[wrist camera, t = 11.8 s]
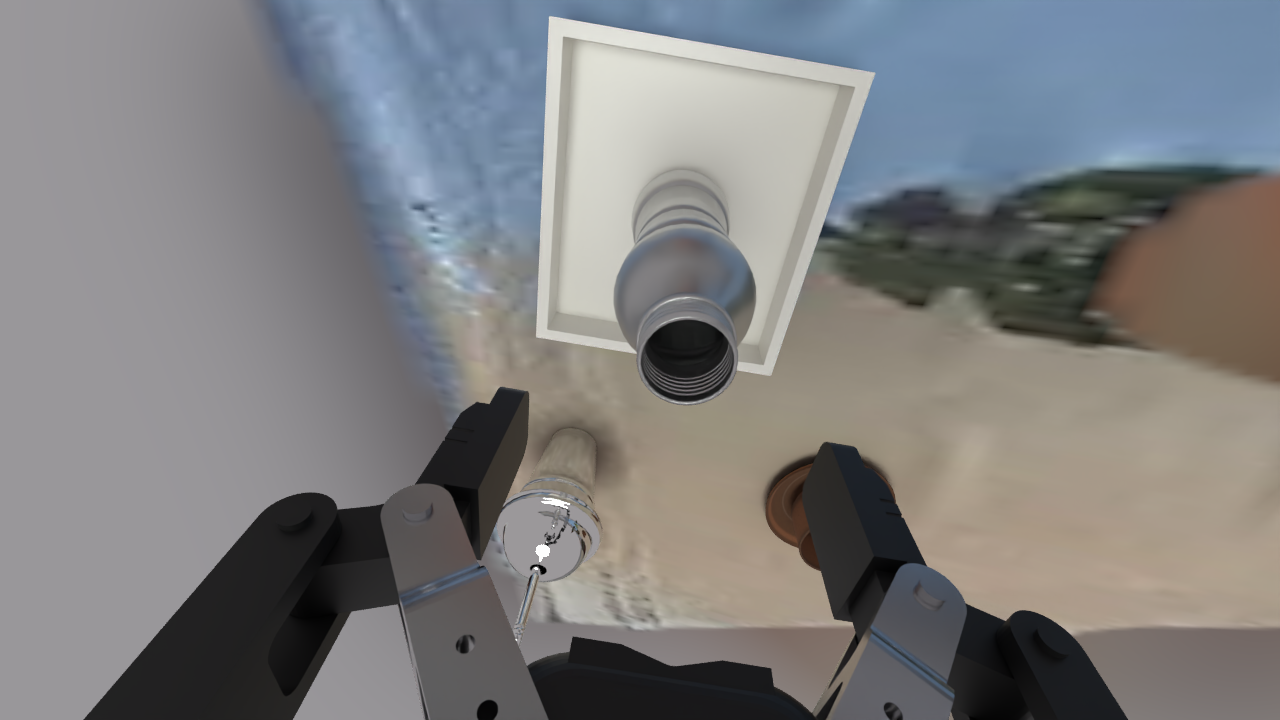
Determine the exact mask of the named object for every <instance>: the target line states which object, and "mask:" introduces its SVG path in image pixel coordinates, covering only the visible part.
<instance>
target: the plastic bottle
mask: <svg viewBox="0 0 1280 720" xmlns="http://www.w3.org/2000/svg"><path fill="white" fill-rule="evenodd" d="M631 226H632V233H633V239H634V243H635V245H634V247H633V248H632V249H631V251H630V252H629V253H628V255H627V256H626V257H625V260H624V262H623V264H622V266H621V268H620V270H619V273H618V275H617V278H616V282H615V286H614V296H613V304H614V310H615V315H616V318H617V321H618V323H619V326H620V328H621V331H622V333H623V335H624V337H625V339H626V340H627V342H628V343H629V345H630V346H631V347H632V348H633V349H634V350H635V351H636V352H637V360H636V361H637V367H638V372H639V374H640V377H641V379H642V381H643V383H644V384H645V386H646V387H647V388H648V389H649V390H650V391H651V392H652V393H653V394H654V395H656V396H657V397H659V398H660V399H662V400H665V401H667V402H669V403H673V404H677V405H696V404H700V403H704V402H707V401H709V400H711V399H714V398H715V397H717V396H718V395H720V394H721V393H722V392H723V391H724V390H725V389H726V388H727V387H728V386H729V385H730V383H731V382H732V380H733V378H734V376H735V373H736V370H737V365H738V349H737V347H738V346H739V345H740V343H741V342H742V340H743V339H744V337H745V336H746V334H747V332H748V329H749V327H750V324H751V322H752V319H753V315H754V311H755V306H756V285H755V280H754V276H753V273H752V271H751V269H750V266H749V264H748V262H747V260H746V259H745V257H744V255H743V254H742V253H741V251H740V250H739V249H738V247H737V246H736V245H735V244H734V243H733V242H732V241H731V240H730V239H729V238H728V237H729V230H730V212H729V208H728V203H727V201H726V199H725V197H724V194H723V193H722V191H721V190H720V189H719V187H718V186H717V185H716V184H715V183H714V182H713V181H712V180H710V179H709V178H708V177H706V176H704V175H702V174H700V173H697V172H694V171H690V170H673V171H669V172H667V173H664V174H661V175H660V176H658V177H656V178H655V179H653V180H652V181H651V182H650V183H649V184H647V185H646V186H645V187H644V189H643V190H642V192H641V193H640V194H639V196H638V198H637V200H636V202H635V205H634V208H633V212H632V222H631Z"/></svg>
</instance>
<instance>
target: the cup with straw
mask: <svg viewBox="0 0 1280 720" xmlns="http://www.w3.org/2000/svg"><path fill="white" fill-rule="evenodd" d="M596 451H597V446H596V442H595V440H594V439H593V438H592V436H591V435H589V434H588V433H587V432H585V431H583V430H580V429H576V428H565V429H561V430H559V431H557V432H556V433H555V434H554V435H553V436H552V439H551V441H550V443H549V444H548V446H547V447H546V449H545V451H544V453H543V455H542V457H541V458H540V460H539V462H538V464H537V466H536V468H535V470H534V471H533V473H532V475H531V477H530V479H529V481H528V482H527V483H526V484H525V486H524V487H523V488H522V490H521V491H520V492H519V493H517V494H514V495H513V496H511V497H510V498H508V499H507V500H506V501H505V503H504V505H503V508H502V510H501V513H500V515H499V517H498V520H497V531H498V535H499V537H500V539H501V541H502V543H503V545H504V551H505V555H506V557H507V559H508V561H509V563H510V564H511V566H512V567H513V568H514V569H515V570H516V571H517V572H518V573H520V574H521V575H523V576H524V577H526V578H528V579H529V581H528V584H527V587H526V591H525V594H524V597H523V601H522V604H521V607H520V610H519V614H518V617H517V620H516V624H515V626H514V630H513V633H514V636H515V638H516V641H517V643H518V646H519V647H520V643H521V640H522V637H523V633H524V630H525V627H526V624H527V620H528V617H529V613H530V610H531V606H532V602H533V599H534V595H535V592H536V588H537V585H538V582H553V581H558V580H561V579H563V578H565V577H567V576H569V575H571V574H572V573H573V572H574V571H575V570H576V569H577V568H578V567H579V566H580V565H581V564H582V563H583V562H585V561H587V560H589V559H590V558H591V557H592V556H593V555H594V554H595V553H596V551H597V550H598V547H599V544H600V543H601V541H602V537H603V527H602V523H601V520H600V518H599V517H598V515H597V513H596V512H595V503H594V487H595V471H596Z"/></svg>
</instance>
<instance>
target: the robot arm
mask: <svg viewBox="0 0 1280 720" xmlns="http://www.w3.org/2000/svg"><path fill="white" fill-rule="evenodd" d="M528 417H529V392H528V391H523V390H517V389H511V388H505V387H500V388H499V389H498V390H497V392H496V394H495V396H494V397H493V399H492V401H491V402H490V404H485V403H479V402H476V403H475V404H473V405H472V406H470V407H469V408H467V409H466V410H465V411H463V412H462V413H461V414H460V415H459V417H458V419H457V420H456V422H455V423H454V425H453V426H452V429H450V431H449V433H448V434H447V436H446V437H445V441H443V442H442V443H441V445H440V447H439V449H438V450H437V451H436V453H435V454H434V456H433V458H432V459H431V461H430V462H429V464H428V465H427V467H426V468H425V470H424V472H423V473H422V475H421V476H420V478H419V479H418V481H417V482H416V484H415V485H412V486H408V487H406V488H403V489H401V490H399V491H398V492H396V493H395V494H393V495H392V496H391V497H390V498H389V499H388V500H387V501H386V502H385V504H381V505H377V506H370V507H360V508H350V509H340V510H337V506H336V504H335V502H334V501H333V500H332V499H331V498H330V497H328V496H327V495H324V494H320V493H301V494H296V495H292V496H289V497H286V498H284V499H281V500H279V501H277V502H276V503H274V504H272V505H271V506H269V507H268V508H267V509H265V510H264V511H263V512H262V513H261V514H260V515H259V516H258V518H257V519H256V520H255V521H254V522H253V523H252V524H251V526H250V527H249V528H248V529H247V530H246V531H245V533H244V534H243V535H242V536H241V537H240V538H239V539H238V541H237V542H236V543H235V544H234V545H233V546H232V548H231V549H230V550H229V551H228V552H227V554H226V555H225V556H224V557H223V558H222V559H221V560H220V562H219V563H218V564H217V565H216V566H215V568H214V569H213V570H212V571H211V572H210V573H209V574H208V576H207V577H206V578H205V579H204V580H203V581H202V583H201V584H200V585H199V586H198V587H197V588H196V590H195V591H194V592H193V593H192V594H191V595H190V596H189V598H188V599H187V600H186V601H185V602H184V603H183V605H182V606H181V607H180V608H179V609H178V611H177V612H176V613H175V614H174V615H173V616H172V617H171V619H170V620H169V621H168V622H167V623H166V624H165V626H164V627H163V628H162V629H161V630H160V631H159V633H158V634H157V635H156V636H155V637H154V638H153V640H152V641H151V642H150V643H149V644H148V645H147V647H146V648H145V649H144V650H143V651H142V652H141V653H140V655H139V656H138V657H137V658H136V659H135V660H134V662H133V663H132V664H131V665H130V666H129V667H128V669H127V670H126V671H125V672H124V673H123V674H122V676H121V677H120V678H119V679H118V680H117V681H116V683H115V684H114V685H113V686H112V687H111V688H110V690H109V691H108V692H107V693H106V694H105V695H104V697H103V698H102V699H101V700H100V701H99V702H98V704H97V705H96V706H95V707H94V708H93V709H92V711H91V712H90V713H89V714H88V715H87V716H86V717H85V719H84V720H293V718H294V716H295V715H296V713H297V711H298V709H299V707H300V705H301V704H302V702H303V700H304V698H305V696H306V694H307V692H308V691H309V689H310V687H311V685H312V683H313V681H314V680H315V678H316V676H317V674H318V672H319V670H320V668H321V666H322V665H323V663H324V661H325V659H326V657H327V655H328V654H329V652H330V650H331V648H332V646H333V644H334V643H335V641H336V639H337V637H338V635H339V633H340V631H341V630H342V628H343V626H344V624H345V622H346V620H347V618H348V617H349V615H350V613H351V611H357V610H364V609H370V608H376V607H383V606H389V605H396V604H398V608H399V613H400V617H401V621H402V625H403V630H404V634H405V638H406V642H407V647H408V651H409V655H410V659H411V664H412V668H413V672H414V677H415V681H416V686H417V690H418V695H419V700H420V704H421V709H422V713H423V718H424V720H949V716H950V712H951V713H952V716H953V718H954V720H1128V719H1127V717H1126V716H1125V714H1124V712H1123V711H1122V709H1121V708H1120V706H1119V705H1118V703H1117V702H1116V700H1115V698H1114V697H1113V695H1112V694H1111V692H1110V690H1109V689H1108V687H1107V686H1106V684H1105V683H1104V681H1103V679H1102V678H1101V676H1100V675H1099V673H1098V672H1097V670H1096V668H1095V667H1094V665H1093V664H1092V662H1091V661H1090V659H1089V657H1088V656H1087V654H1086V653H1085V651H1084V650H1083V648H1082V647H1081V646H1080V644H1079V643H1078V642H1077V641H1076V640H1075V639H1074V638H1073V637H1072V636H1071V635H1070V634H1069V633H1068V632H1067V631H1066V630H1065V629H1063V628H1062V627H1061V626H1059V625H1058V624H1057V623H1055V622H1054V621H1052V620H1050V619H1049V618H1047V617H1045V616H1043V615H1040V614H1038V613H1035V612H1032V611H1026V610H1021V611H1017V612H1015V613H1013V614H1012V615H1011V616H1010V617H1009V618H1008V619H1007V620H1006V621H1004V620H1002V619H1000V618H997V617H995V616H993V615H990V614H988V613H986V612H983V611H981V610H979V609H976V608H974V607H972V606H970V605H968V604H966V603H965V601H964V599H963V597H962V595H961V594H960V592H959V591H958V589H957V588H956V587H955V586H954V585H953V584H952V583H951V582H950V581H949V580H948V579H947V578H946V577H945V576H943V575H942V574H940V573H939V572H937V571H935V570H934V569H932V568H929V567H927V565H926V563H925V561H924V559H923V557H922V555H921V553H920V551H919V549H918V547H917V545H916V543H915V541H914V539H913V537H912V535H911V533H910V530H909V528H908V526H907V524H906V522H905V520H904V518H902V517H901V515H902V514H901V512H900V510H899V508H898V506H897V504H895V500H894V498H893V496H892V494H891V492H890V489H889V487H888V485H887V484H886V483H885V482H884V481H883V480H882V479H881V478H880V476H879V475H878V474H877V473H876V472H875V471H874V470H873V469H870V468H865V466H864V464H863V461H862V459H861V457H860V455H859V453H858V451H857V449H856V448H855V447H853V446H848V445H842V444H836V443H830V442H825V443H823V444H822V446H821V447H820V449H819V452H818V454H817V456H816V458H815V460H814V463H813V465H812V467H811V469H810V471H809V473H808V476H807V478H806V480H805V482H804V486H803V492H802V502H803V507H804V511H805V515H806V518H807V522H808V525H809V529H810V533H811V536H812V540H813V544H814V547H815V551H816V555H817V558H818V562H819V566H820V569H821V573H822V577H823V580H824V584H825V588H826V591H827V595H828V599H829V602H830V606H831V610H832V613H833V617H834V619H836V620H842V621H848V622H853V625H854V628H855V633H854V635H853V636H852V638H851V639H850V641H849V643H848V645H847V647H846V649H845V651H844V653H843V655H842V657H841V659H840V661H839V663H838V665H837V667H836V669H835V671H834V672H833V674H832V676H831V678H830V680H829V682H828V684H827V686H826V688H825V690H824V692H823V694H822V696H821V698H820V700H819V701H818V703H817V705H816V707H815V708H814V710H813V712H812V713H811V712H810V711H809V710H808V709H807V708H806V707H804V706H803V705H802V704H801V703H800V702H798V701H797V700H796V699H794V698H793V697H791V696H790V695H788V694H787V693H785V692H783V691H782V690H780V689H778V688H776V687H774V685H773V678H772V672H771V668H765V667H759V666H753V665H747V664H741V663H734V662H728V661H715V662H708V663H700V664H692V665H684V666H669V665H666V664H664V663H662V662H660V661H657V660H655V659H653V658H651V657H648V656H646V655H644V654H642V653H640V652H638V651H635V650H633V649H631V648H629V647H626V646H624V645H622V644H616V643H610V642H604V641H597V640H592V639H585V638H579V637H573V638H572V643H571V648H570V652H566V653H559V654H555V655H551V656H547V657H545V658H542V659H540V660H537V661H535V662H533V663H531V664H529V665H528V666H527V665H526V663H525V660H524V658H523V656H522V653H521V651H520V648H519V646H518V643H517V641H516V638H515V636H514V633H513V631H512V628H511V626H510V623H509V621H508V619H507V616H506V614H505V611H504V609H503V606H502V604H501V601H500V599H499V596H498V594H497V591H496V589H495V587H494V584H493V582H492V579H491V577H490V574H489V572H488V570H487V569H486V567H485V566H481V567H480V566H479V564H478V562H477V560H481V559H482V556H483V554H484V551H485V549H486V547H487V544H488V542H489V539H490V537H491V534H492V532H493V530H494V527H495V525H496V522H497V520H498V517H499V515H500V513H501V510H502V508H503V505H504V503H505V500H506V498H507V495H508V493H509V491H510V488H511V486H512V483H513V481H514V478H515V476H516V474H517V471H518V469H519V466H520V464H521V461H522V459H523V456H524V453H525V449H526V445H527V439H528Z"/></svg>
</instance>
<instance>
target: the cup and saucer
mask: <svg viewBox="0 0 1280 720" xmlns="http://www.w3.org/2000/svg"><path fill="white" fill-rule="evenodd" d="M812 465H813V464H809V465H806V466H804V467H801V468H799V469H797V470H795V471H793V472H791V473H789V474H788V475H787V476H785V477H784V478H783V479H781V480H780V481H779V482H778V483H777V484H776V485H775V487H774V488H773V489H772V491H771V492H770V494H769V497H768V499H767V503H766V519H767V522H768V525H769V527H770V529H771V530H772V531H773V533H774V534H775V535H776V536H777V537H779V538H780V539H781V540H783V541H784V542H786V543H788V544H790V545H792V546H795V547H797V548H799V552H800V555H801V557H802V559H803V560H804V562H805V563H806V564H808V565H809V566H810V567H812V568H814V569H816V570H819V571H821V569H820V566H819V562H818V558H817V555H816V551H815V547H814V544H813V540H812V536H811V533H810V529H809V525H808V522H807V518H806V515H805V511H804V507H803V502H802V492H803V486H804V482H805V480H806V478H807V476H808V473H809V471H810V469H811V467H812ZM864 466H865V465H864ZM865 468H869V467H867V466H865ZM870 469H871V468H870ZM874 471H875V470H874ZM875 472H876V471H875ZM876 473H877V474H878V475H879V476H880V478H881V479H882V480H883V481H884V482H885V483H886V484H887V485H888V487H889V489H890V492H891V494H892V496H893V498H894V500H895V494H894V492H893V489H892V487H891V486H890V484H889V483H888V482H887V480H886V479H885V478H884V477H883V476H882V475H880V474H879V473H878V472H876ZM895 504H896V500H895Z"/></svg>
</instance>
